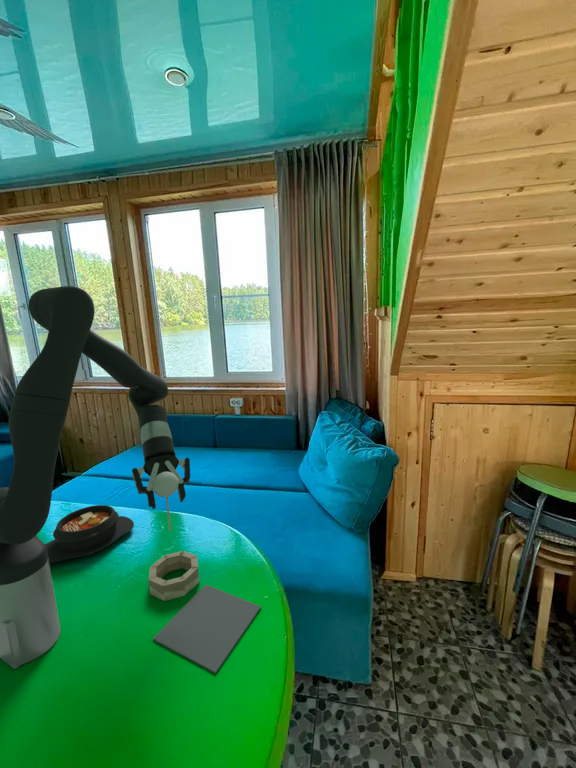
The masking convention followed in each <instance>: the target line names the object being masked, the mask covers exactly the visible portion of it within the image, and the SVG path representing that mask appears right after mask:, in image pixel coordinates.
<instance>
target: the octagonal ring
mask: <svg viewBox="0 0 576 768" xmlns="http://www.w3.org/2000/svg"><path fill="white" fill-rule="evenodd" d="M198 561H199V560H198V555H196V554H194V553H192V552H191V553H190V552H188V551H185V550H181V551H177V552H172V553H167V554H164V555H163V556H162V557H160V558H159V559H158V560H156V561H155V562H154V563H153V564H152V565H150V566H149V574H148V587H149V594H150V596H153V597H155V598H157V599H159V600H160V601H161V600H162V601H164V602H166V601H169V600H173V599H179V598H181V596H182V597H185V596H187V595H188V594H189V593H190V592H191V591H192V590H193V589H194V587H196V586H197V585H198V584H199V583H200V573H199V562H198ZM180 568H184V569H183V570H185V569H186V570H185V571H186V572H185V573H184V574H183V575H182V576H179V577H175V578H171V579H168V580H166V579H163V577H164V576H166V575H167V574H168V573H169V572H173V570H174V571H177V570H176V569H178V570H181V569H180ZM187 570H188V571H187ZM191 589H192V590H191ZM190 590H191V591H190ZM189 591H190V592H189ZM188 592H189V593H188ZM186 594H187V595H186Z"/></svg>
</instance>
